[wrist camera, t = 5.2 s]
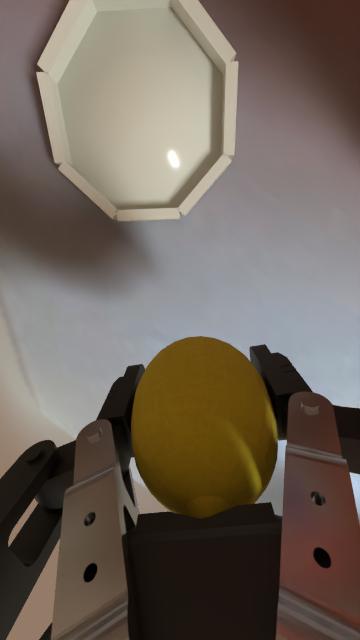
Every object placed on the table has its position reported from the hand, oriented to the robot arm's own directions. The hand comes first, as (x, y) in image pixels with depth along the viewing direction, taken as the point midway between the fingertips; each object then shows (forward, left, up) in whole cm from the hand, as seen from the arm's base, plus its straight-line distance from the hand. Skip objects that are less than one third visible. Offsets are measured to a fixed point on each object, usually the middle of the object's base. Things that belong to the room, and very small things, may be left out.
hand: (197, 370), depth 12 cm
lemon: (0, 0, -2) cm, 2 cm away
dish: (-7, -11, -9) cm, 16 cm away
